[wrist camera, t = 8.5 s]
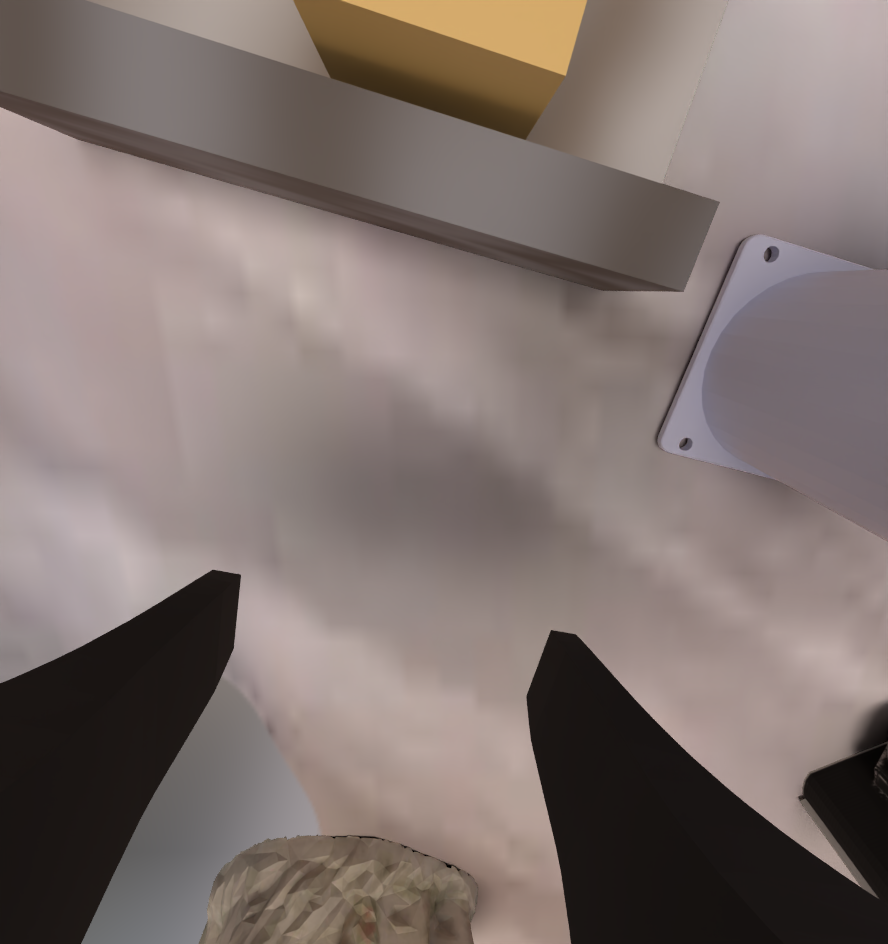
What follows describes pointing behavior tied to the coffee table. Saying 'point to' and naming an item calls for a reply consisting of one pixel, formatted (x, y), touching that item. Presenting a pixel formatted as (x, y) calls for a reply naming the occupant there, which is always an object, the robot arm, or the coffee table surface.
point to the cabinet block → (451, 53)
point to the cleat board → (389, 127)
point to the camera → (854, 814)
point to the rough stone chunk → (339, 895)
